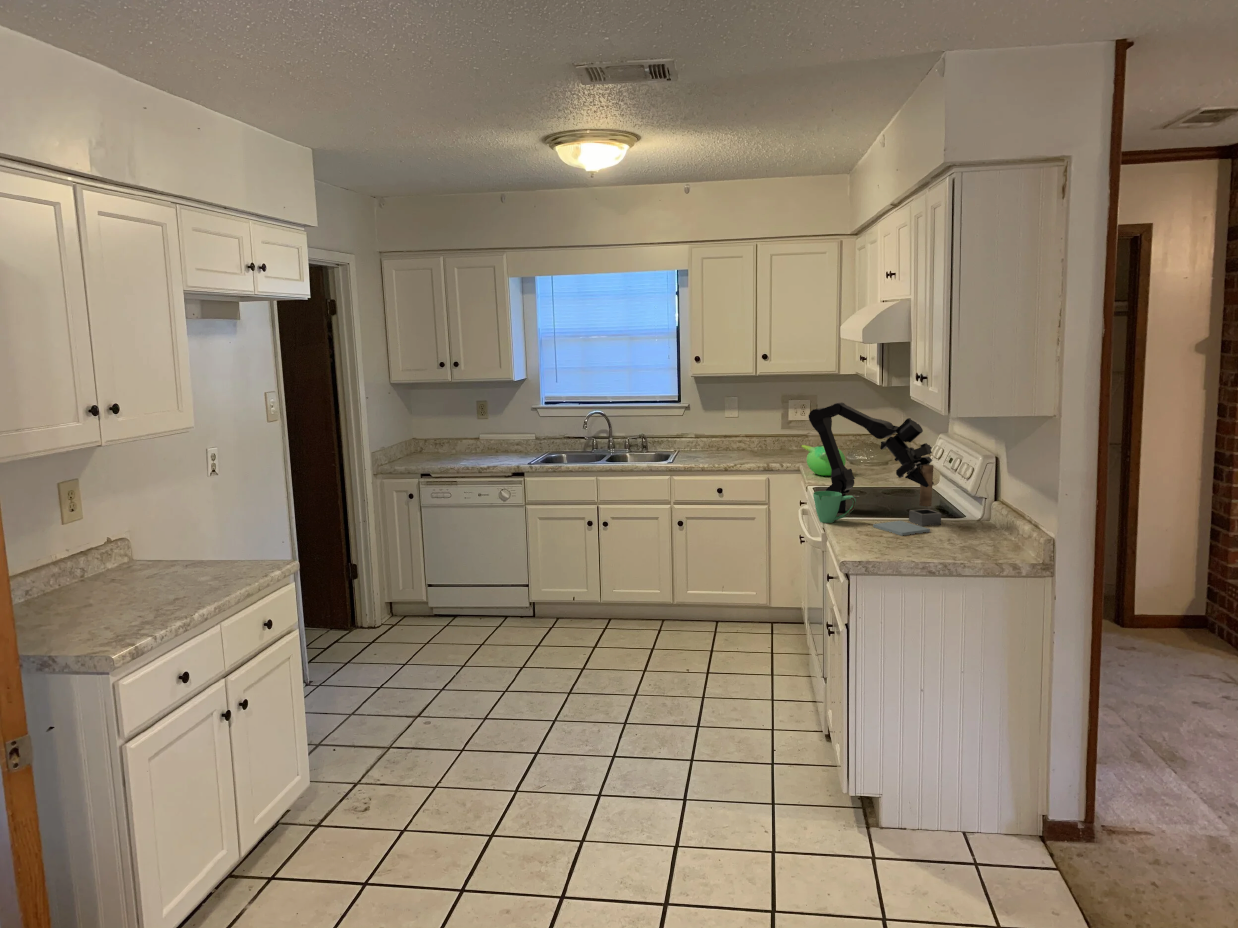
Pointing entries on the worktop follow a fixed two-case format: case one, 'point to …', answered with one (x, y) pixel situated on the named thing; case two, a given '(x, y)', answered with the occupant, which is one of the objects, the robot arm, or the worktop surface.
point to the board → (901, 528)
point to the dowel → (926, 491)
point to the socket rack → (925, 517)
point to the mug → (830, 505)
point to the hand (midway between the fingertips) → (930, 485)
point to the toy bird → (820, 460)
